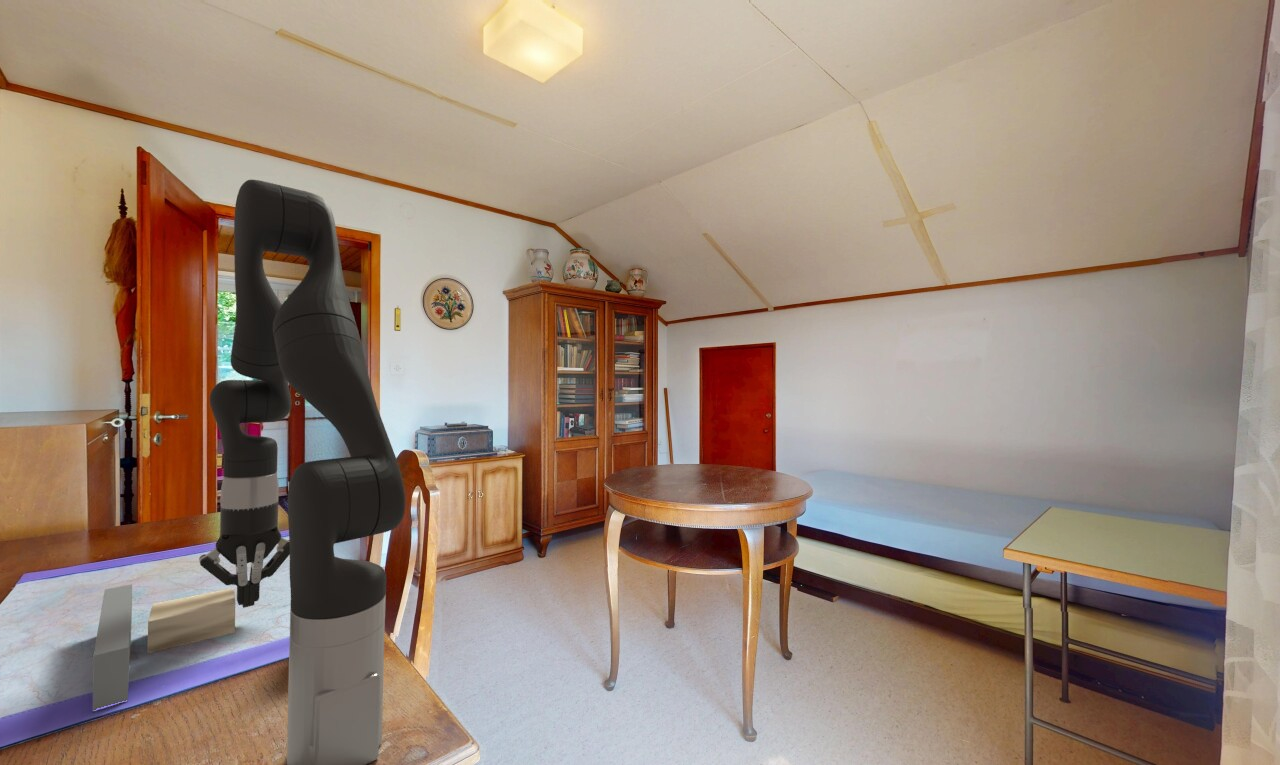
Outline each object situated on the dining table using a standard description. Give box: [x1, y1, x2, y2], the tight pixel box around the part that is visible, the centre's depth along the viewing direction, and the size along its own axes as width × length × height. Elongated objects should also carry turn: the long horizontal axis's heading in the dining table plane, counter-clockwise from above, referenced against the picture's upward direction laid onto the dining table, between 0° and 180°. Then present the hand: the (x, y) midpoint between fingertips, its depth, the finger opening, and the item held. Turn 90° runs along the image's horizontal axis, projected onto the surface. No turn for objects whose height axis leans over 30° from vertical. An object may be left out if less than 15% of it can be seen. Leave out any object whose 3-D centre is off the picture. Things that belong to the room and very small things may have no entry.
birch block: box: [147, 587, 236, 654], centre depth 80 cm, size 7×10×5 cm
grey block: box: [92, 583, 133, 711], centre depth 71 cm, size 24×3×7 cm, turn 45°
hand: (248, 604), depth 83 cm, fingers closed
